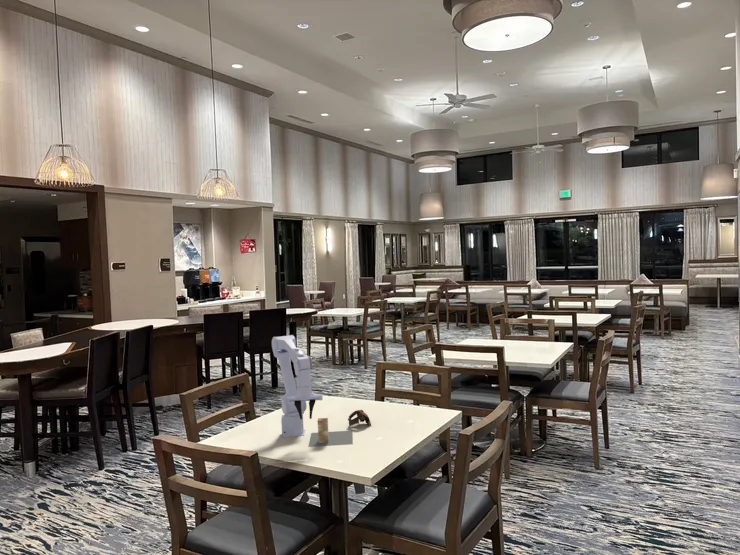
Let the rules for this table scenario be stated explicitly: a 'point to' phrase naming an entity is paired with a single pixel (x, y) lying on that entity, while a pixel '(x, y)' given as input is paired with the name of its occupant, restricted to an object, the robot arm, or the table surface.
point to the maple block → (323, 430)
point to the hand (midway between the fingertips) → (306, 418)
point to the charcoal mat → (333, 439)
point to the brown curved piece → (359, 418)
